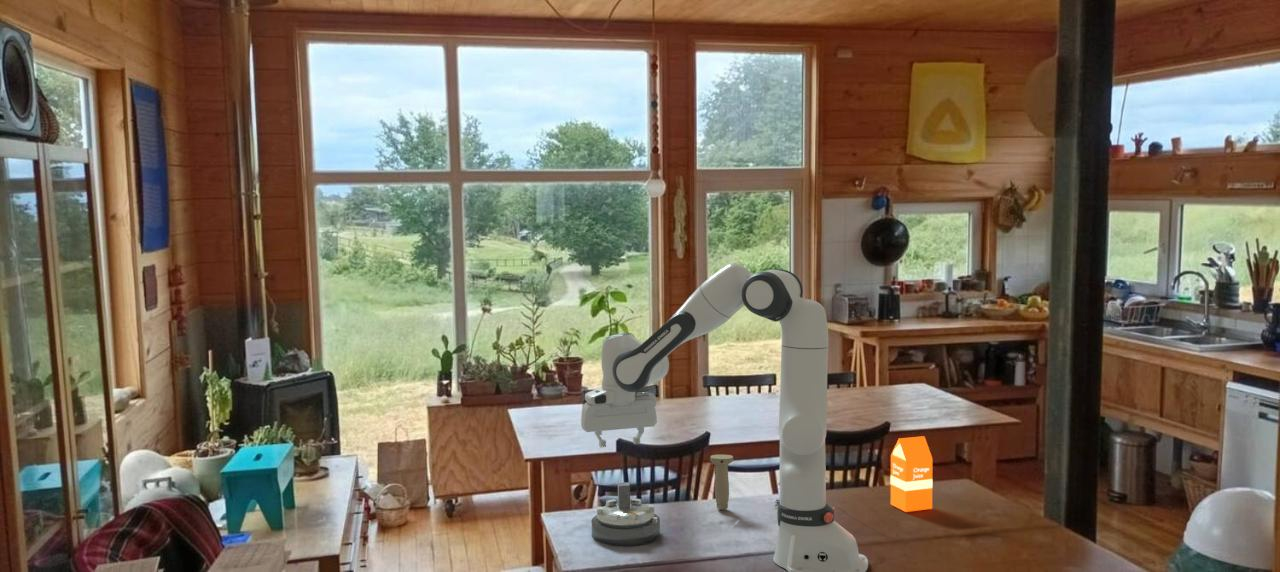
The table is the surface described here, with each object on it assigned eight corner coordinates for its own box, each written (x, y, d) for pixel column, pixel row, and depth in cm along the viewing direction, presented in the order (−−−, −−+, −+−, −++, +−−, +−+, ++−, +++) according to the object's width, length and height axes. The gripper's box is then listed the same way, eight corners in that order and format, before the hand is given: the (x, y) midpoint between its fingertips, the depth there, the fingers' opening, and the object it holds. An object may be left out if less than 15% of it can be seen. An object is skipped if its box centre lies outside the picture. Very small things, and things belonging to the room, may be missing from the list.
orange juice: (890, 504, 262) (890, 435, 261) (916, 500, 265) (916, 433, 264) (905, 512, 255) (906, 441, 254) (932, 508, 258) (933, 439, 256)
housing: (670, 528, 245) (669, 507, 244) (644, 550, 228) (644, 529, 228) (609, 520, 252) (608, 501, 251) (580, 541, 235) (579, 521, 235)
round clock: (650, 508, 248) (650, 479, 247) (657, 526, 233) (656, 496, 232) (595, 511, 246) (595, 482, 246) (598, 529, 231) (598, 498, 231)
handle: (733, 511, 258) (733, 458, 257) (711, 510, 259) (710, 458, 258) (733, 505, 263) (732, 454, 262) (711, 505, 264) (710, 454, 263)
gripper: (652, 389, 248) (653, 439, 249) (579, 394, 242) (580, 446, 243) (659, 393, 242) (660, 444, 243) (584, 398, 236) (585, 451, 237)
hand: (619, 445), depth 243 cm, fingers open, 8 cm apart
